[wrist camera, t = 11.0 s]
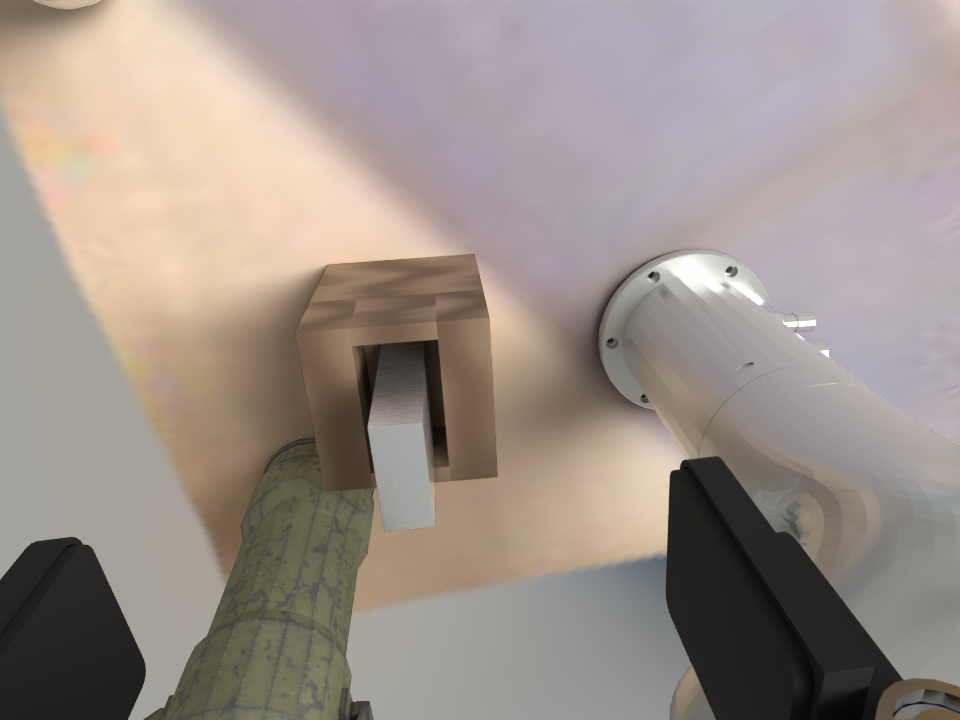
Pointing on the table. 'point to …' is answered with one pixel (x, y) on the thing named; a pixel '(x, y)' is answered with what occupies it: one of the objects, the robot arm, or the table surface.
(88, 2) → the plastic bottle
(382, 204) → the table surface
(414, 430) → the white block
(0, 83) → the table surface
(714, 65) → the table surface
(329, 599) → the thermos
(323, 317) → the slotted wooden block
